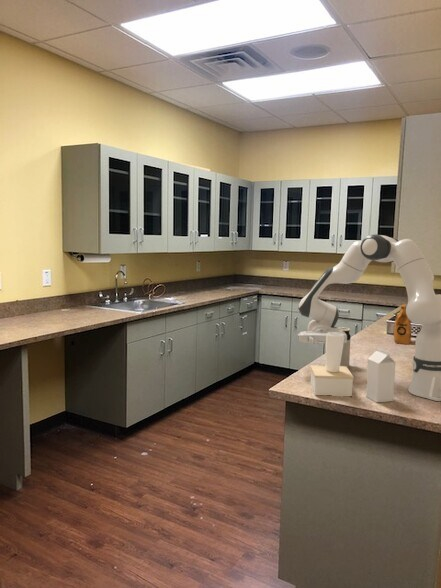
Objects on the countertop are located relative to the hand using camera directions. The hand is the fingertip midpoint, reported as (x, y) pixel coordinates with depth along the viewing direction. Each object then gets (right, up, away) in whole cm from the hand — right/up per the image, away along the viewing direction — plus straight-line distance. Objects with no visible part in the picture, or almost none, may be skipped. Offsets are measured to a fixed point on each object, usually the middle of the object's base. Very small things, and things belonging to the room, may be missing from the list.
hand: (325, 341), depth 195 cm
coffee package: (+63, -9, +79) cm, 102 cm away
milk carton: (+16, -20, -19) cm, 32 cm away
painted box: (0, -18, -9) cm, 21 cm away
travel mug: (+13, -14, +27) cm, 33 cm away
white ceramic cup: (0, -11, -11) cm, 15 cm away
